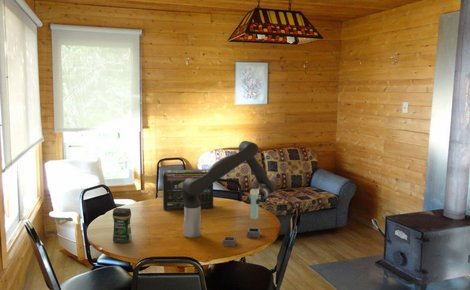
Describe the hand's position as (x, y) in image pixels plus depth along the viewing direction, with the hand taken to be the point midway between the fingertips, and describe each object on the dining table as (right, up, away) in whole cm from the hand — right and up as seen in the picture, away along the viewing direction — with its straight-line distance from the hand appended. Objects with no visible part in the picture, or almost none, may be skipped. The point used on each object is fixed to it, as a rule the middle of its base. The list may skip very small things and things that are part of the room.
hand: (253, 202), depth 235 cm
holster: (-13, -22, -8) cm, 27 cm away
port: (+1, -20, +5) cm, 21 cm away
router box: (-44, -13, +61) cm, 76 cm away
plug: (+1, -10, +4) cm, 10 cm away
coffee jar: (-72, -21, -5) cm, 76 cm away
